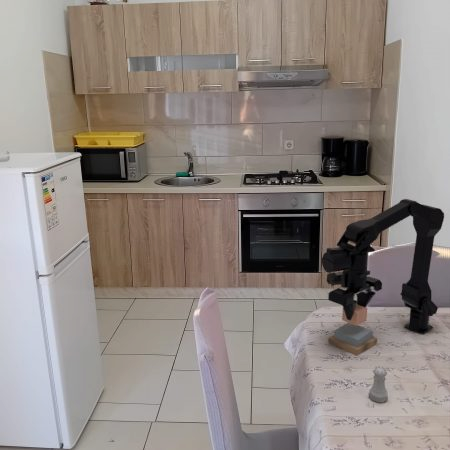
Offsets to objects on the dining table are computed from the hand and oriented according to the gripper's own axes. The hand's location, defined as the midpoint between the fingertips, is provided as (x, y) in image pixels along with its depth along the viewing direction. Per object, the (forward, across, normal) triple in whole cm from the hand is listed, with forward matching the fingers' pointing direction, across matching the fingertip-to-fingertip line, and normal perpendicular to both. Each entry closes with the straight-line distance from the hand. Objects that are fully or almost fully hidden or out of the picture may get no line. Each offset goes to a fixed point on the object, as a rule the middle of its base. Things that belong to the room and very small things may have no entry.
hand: (354, 317), depth 138 cm
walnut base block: (+9, 0, 0) cm, 9 cm away
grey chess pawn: (+9, +18, +20) cm, 28 cm away
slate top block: (+7, 0, 0) cm, 7 cm away
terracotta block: (+1, 0, 0) cm, 1 cm away
